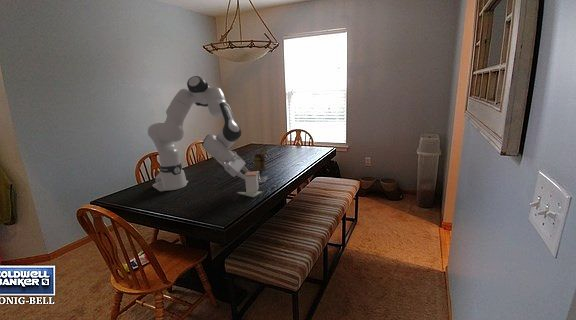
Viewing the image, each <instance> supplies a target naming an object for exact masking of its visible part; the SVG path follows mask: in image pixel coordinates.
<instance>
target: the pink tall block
mask: <svg viewBox="0 0 576 320" xmlns="http://www.w3.org/2000/svg"><path fill="white" fill-rule="evenodd" d="M244 175H245V176H246V178H245V179H244V180H245V181H244V182H245V191H246V193H247V192H258V191H259V188H260V185H259V182H258V172H257V170H254V171H249V172H246V173H244Z"/></svg>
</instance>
